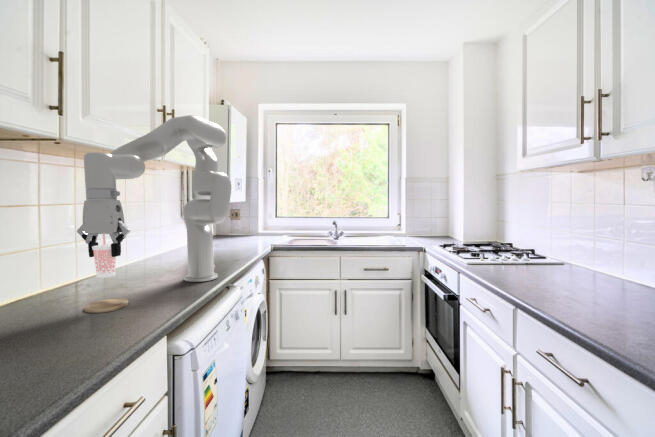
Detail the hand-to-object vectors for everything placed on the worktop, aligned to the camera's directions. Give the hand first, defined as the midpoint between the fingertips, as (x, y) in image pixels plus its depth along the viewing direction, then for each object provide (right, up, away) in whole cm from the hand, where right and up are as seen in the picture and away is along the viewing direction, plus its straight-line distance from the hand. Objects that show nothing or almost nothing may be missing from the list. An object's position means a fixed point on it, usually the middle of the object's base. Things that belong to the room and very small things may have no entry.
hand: (105, 255), depth 101 cm
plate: (0, -15, +1) cm, 15 cm away
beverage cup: (0, -6, 0) cm, 6 cm away
